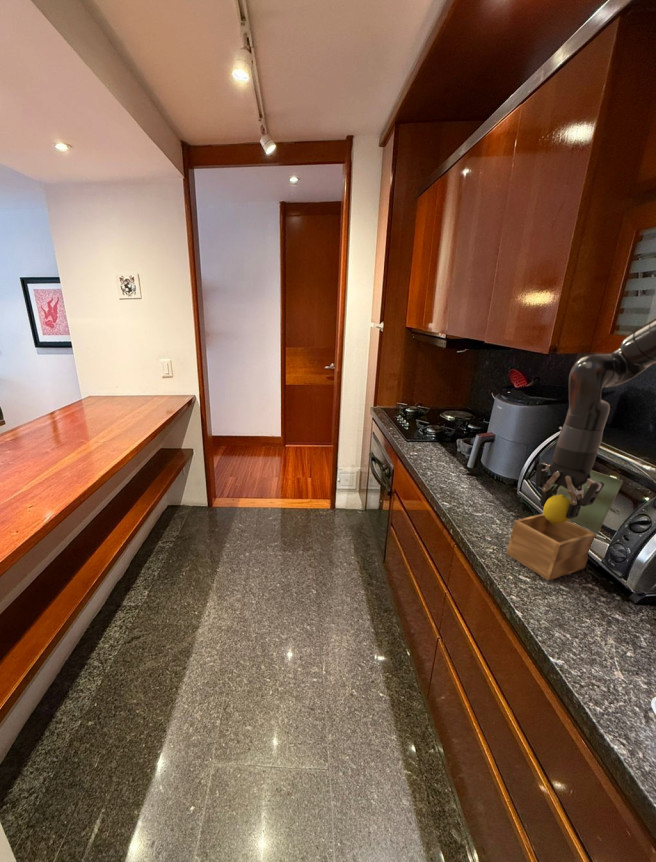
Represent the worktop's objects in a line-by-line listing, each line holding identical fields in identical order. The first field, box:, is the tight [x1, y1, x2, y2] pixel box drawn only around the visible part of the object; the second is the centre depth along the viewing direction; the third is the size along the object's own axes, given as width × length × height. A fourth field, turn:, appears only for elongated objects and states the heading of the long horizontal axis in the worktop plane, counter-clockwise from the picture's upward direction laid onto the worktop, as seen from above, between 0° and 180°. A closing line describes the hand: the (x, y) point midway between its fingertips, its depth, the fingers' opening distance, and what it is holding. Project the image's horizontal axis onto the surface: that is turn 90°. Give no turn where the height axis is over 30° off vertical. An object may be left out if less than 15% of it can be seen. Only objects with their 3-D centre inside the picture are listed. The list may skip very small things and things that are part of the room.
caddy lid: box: [555, 469, 624, 534], centre depth 95 cm, size 13×12×1 cm
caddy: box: [505, 512, 598, 581], centre depth 97 cm, size 13×12×10 cm
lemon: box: [542, 494, 571, 524], centre depth 93 cm, size 6×6×8 cm
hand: (557, 511), depth 93 cm, fingers closed on lemon, 5 cm apart
